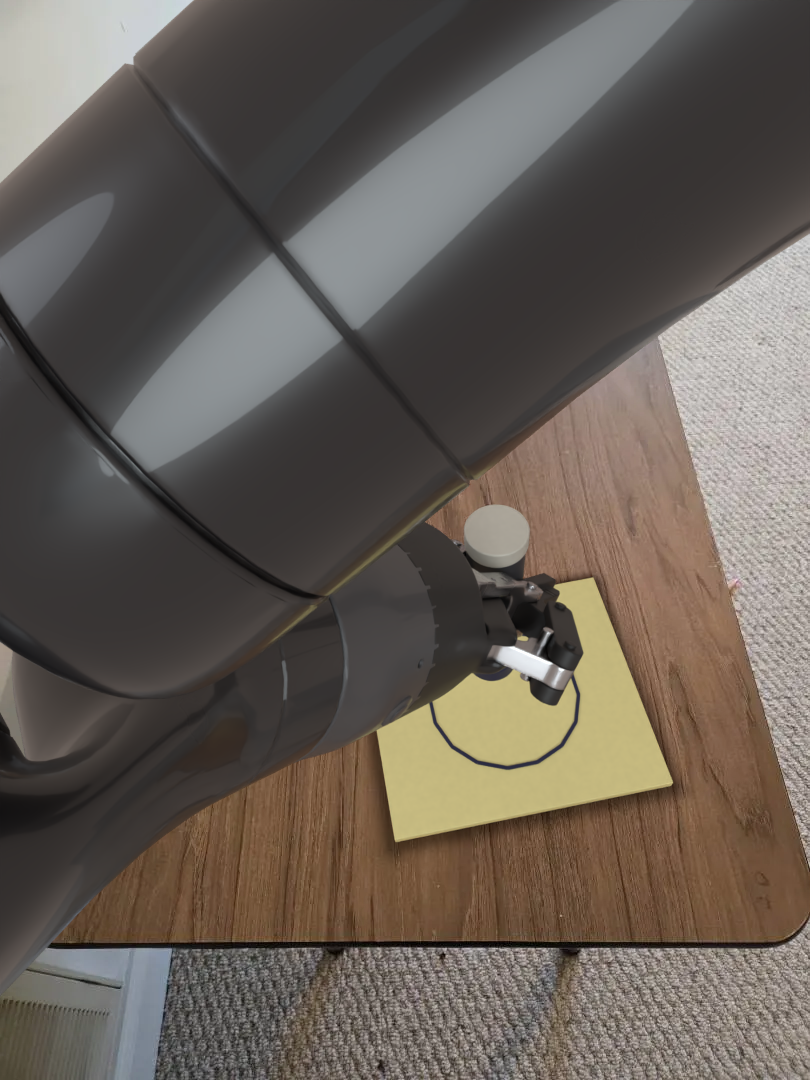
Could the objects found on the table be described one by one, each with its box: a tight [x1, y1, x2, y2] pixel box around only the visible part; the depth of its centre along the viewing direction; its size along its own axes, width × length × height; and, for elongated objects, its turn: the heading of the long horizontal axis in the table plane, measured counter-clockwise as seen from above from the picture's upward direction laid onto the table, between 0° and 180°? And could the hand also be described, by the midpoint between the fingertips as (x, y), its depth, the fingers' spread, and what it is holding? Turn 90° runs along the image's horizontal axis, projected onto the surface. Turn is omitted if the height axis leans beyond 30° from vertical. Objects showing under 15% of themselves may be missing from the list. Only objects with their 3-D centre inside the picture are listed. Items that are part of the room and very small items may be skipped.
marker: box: [463, 503, 531, 681], centre depth 41 cm, size 3×3×13 cm
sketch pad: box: [376, 577, 674, 843], centre depth 54 cm, size 18×16×1 cm
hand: (515, 577), depth 42 cm, fingers closed on marker, 3 cm apart
